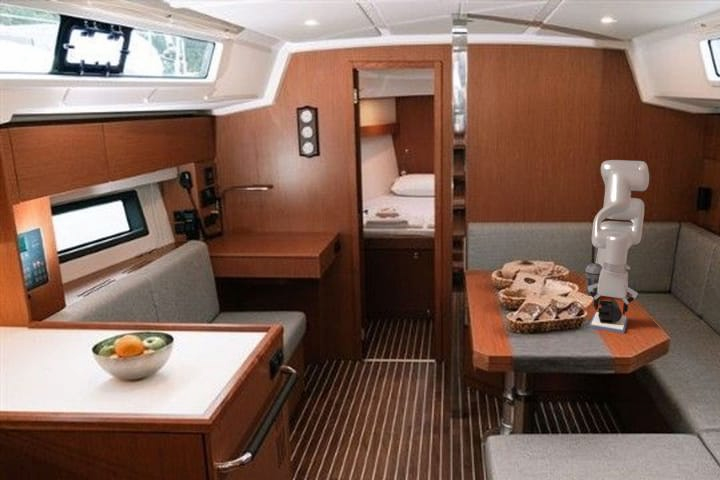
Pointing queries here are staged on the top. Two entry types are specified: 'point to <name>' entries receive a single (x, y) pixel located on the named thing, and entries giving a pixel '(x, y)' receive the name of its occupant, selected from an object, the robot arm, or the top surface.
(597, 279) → the beverage cup
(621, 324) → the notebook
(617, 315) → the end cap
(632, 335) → the top surface
